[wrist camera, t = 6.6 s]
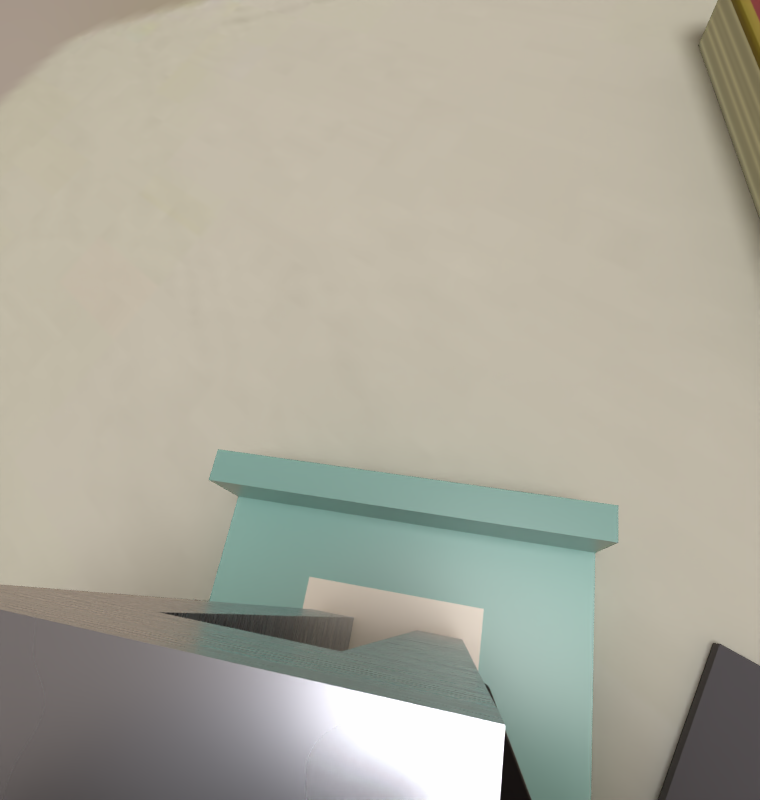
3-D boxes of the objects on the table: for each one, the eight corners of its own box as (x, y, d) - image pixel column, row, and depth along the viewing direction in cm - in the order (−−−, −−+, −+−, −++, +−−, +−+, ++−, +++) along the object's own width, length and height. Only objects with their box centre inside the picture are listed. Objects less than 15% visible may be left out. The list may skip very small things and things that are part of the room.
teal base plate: (575, 1005, 13) (618, 1139, 9) (151, 869, 15) (67, 940, 12) (586, 526, 17) (618, 505, 14) (257, 477, 19) (218, 449, 16)
